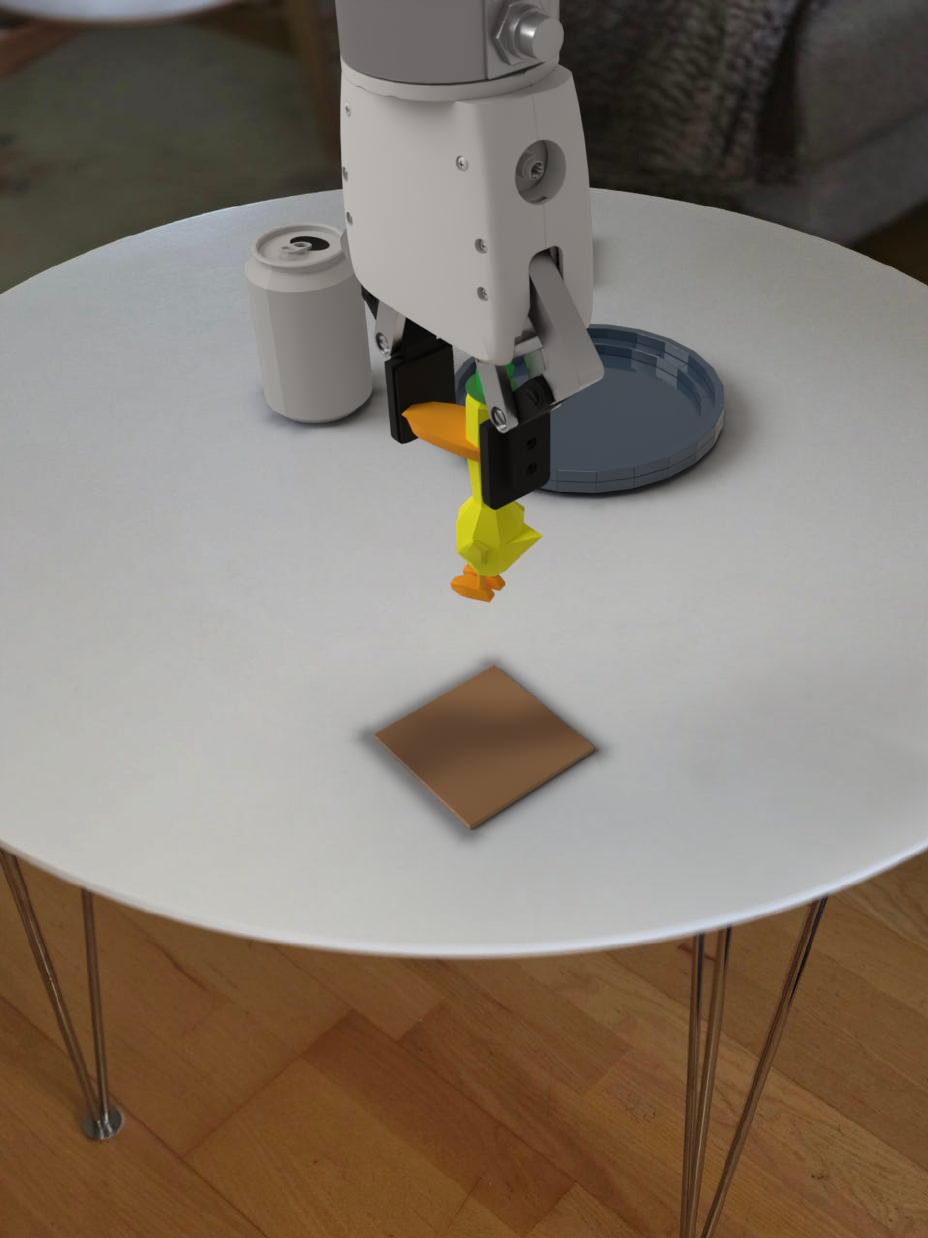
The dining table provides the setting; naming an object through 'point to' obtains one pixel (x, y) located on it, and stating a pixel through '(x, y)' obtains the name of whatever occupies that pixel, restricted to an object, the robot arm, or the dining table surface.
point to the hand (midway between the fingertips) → (468, 457)
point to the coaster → (483, 745)
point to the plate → (629, 413)
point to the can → (308, 323)
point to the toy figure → (475, 494)
